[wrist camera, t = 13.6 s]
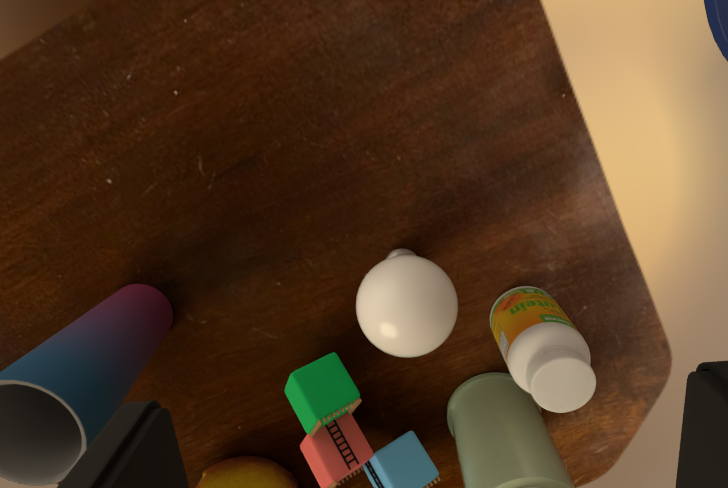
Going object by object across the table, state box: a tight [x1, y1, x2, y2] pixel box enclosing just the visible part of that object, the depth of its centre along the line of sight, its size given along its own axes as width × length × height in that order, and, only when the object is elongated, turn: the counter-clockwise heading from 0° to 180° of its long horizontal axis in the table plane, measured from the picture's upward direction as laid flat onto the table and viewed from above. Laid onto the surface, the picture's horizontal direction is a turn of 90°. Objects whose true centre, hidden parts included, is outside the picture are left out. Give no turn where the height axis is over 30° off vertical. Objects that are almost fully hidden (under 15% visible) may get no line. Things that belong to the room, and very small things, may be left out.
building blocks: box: [284, 352, 440, 488], centre depth 41 cm, size 8×8×12 cm
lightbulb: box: [356, 249, 458, 358], centre depth 35 cm, size 6×6×11 cm
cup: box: [0, 284, 173, 486], centre depth 35 cm, size 7×7×15 cm
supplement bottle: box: [490, 286, 596, 413], centre depth 37 cm, size 5×5×10 cm
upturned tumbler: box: [446, 372, 576, 488], centre depth 39 cm, size 8×8×12 cm
